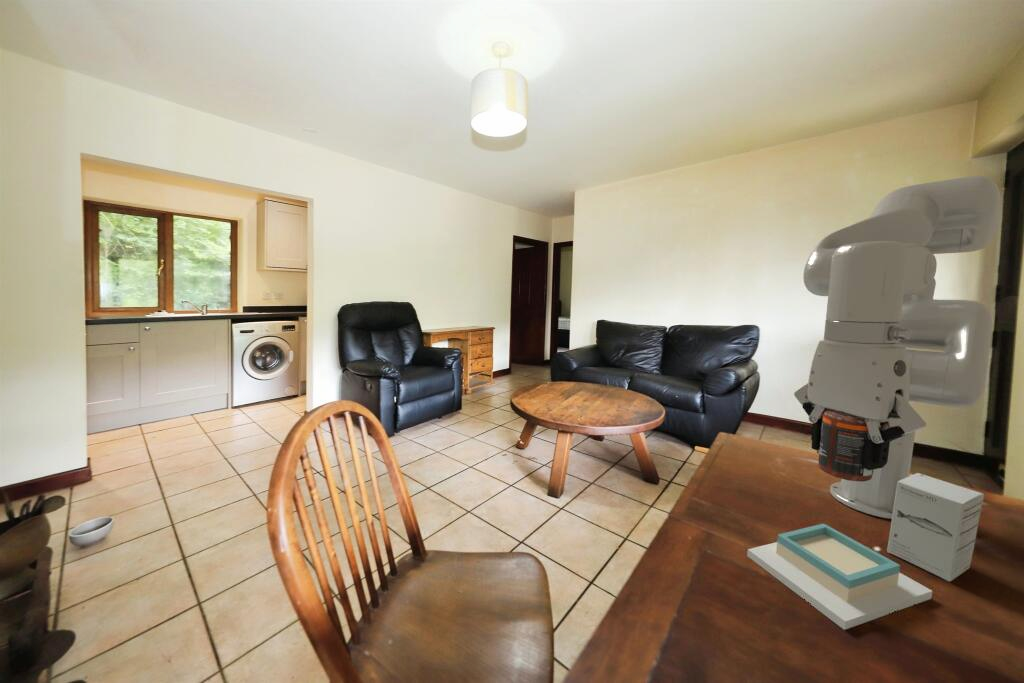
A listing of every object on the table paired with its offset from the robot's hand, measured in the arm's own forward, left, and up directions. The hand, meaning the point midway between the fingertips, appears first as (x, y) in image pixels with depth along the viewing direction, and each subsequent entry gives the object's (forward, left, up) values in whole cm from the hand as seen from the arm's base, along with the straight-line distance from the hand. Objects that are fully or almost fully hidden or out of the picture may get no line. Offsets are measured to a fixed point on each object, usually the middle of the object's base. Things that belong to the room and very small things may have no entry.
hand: (845, 456), depth 54 cm
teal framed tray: (0, 0, -19) cm, 19 cm away
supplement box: (-18, +2, -19) cm, 26 cm away
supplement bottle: (0, 0, -3) cm, 3 cm away
